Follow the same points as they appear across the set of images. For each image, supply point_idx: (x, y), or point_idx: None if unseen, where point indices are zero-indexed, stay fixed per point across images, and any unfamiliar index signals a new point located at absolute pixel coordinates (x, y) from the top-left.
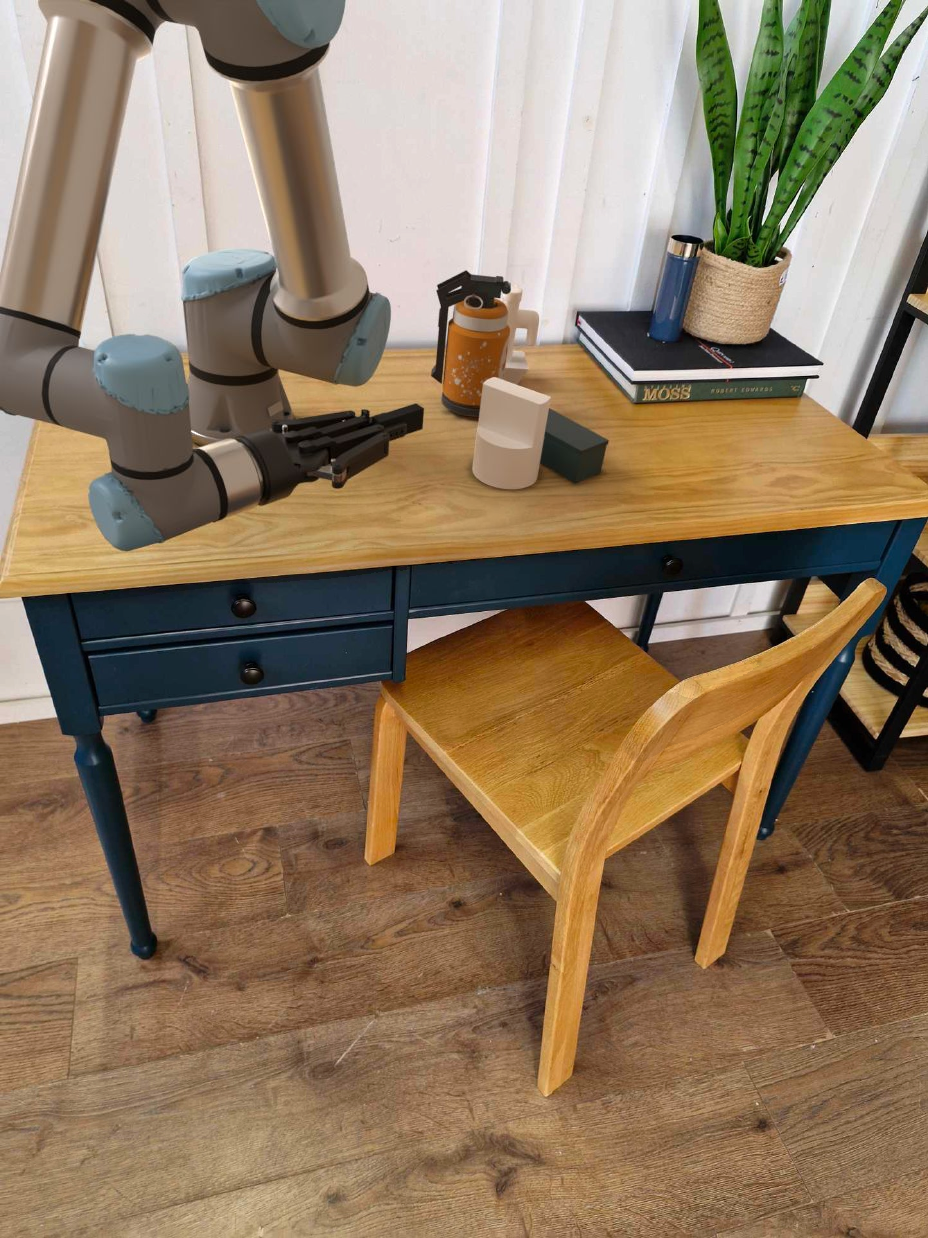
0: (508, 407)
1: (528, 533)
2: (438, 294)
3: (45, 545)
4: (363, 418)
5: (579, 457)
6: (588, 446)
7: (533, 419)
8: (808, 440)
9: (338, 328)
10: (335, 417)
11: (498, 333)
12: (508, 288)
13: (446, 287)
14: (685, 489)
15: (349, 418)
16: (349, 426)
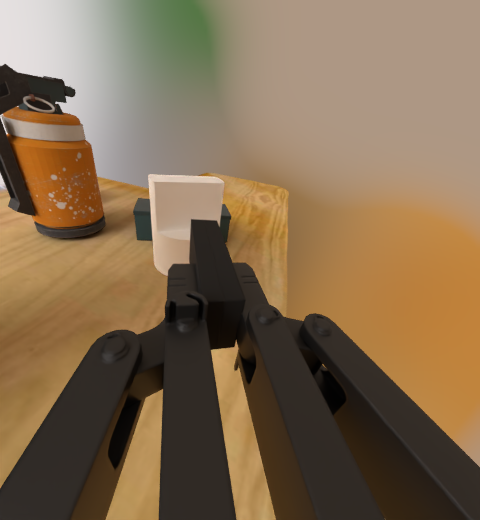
0: (191, 198)
1: (282, 294)
2: None
3: None
4: (194, 328)
5: (229, 221)
6: (227, 212)
7: (218, 200)
8: (236, 183)
9: None
10: (90, 447)
11: (85, 143)
12: (72, 89)
13: None
14: (256, 217)
15: (135, 370)
16: (220, 415)
